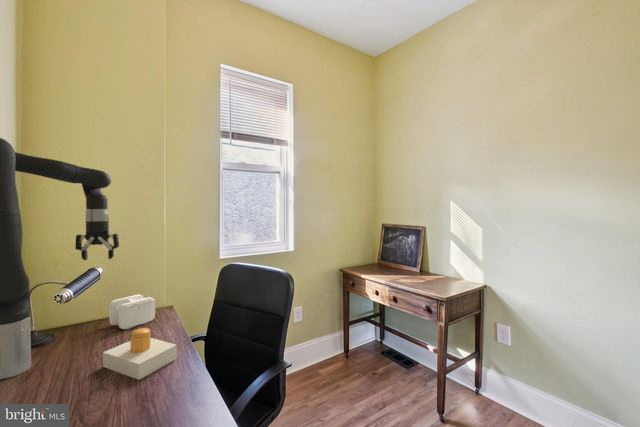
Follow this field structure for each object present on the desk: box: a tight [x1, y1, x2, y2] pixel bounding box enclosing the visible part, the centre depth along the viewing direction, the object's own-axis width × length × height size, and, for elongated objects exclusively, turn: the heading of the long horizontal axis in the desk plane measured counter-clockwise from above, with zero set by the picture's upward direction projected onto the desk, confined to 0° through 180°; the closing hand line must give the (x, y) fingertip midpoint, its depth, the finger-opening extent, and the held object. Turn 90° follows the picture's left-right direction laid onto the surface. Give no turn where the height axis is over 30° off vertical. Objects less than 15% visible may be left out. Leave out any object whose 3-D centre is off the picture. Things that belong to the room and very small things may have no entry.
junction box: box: [102, 337, 178, 381], centre depth 103 cm, size 14×18×5 cm
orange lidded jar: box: [129, 327, 152, 353], centre depth 102 cm, size 6×6×6 cm
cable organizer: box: [108, 294, 156, 330], centre depth 136 cm, size 15×11×12 cm
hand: (98, 259), depth 122 cm, fingers open, 8 cm apart
